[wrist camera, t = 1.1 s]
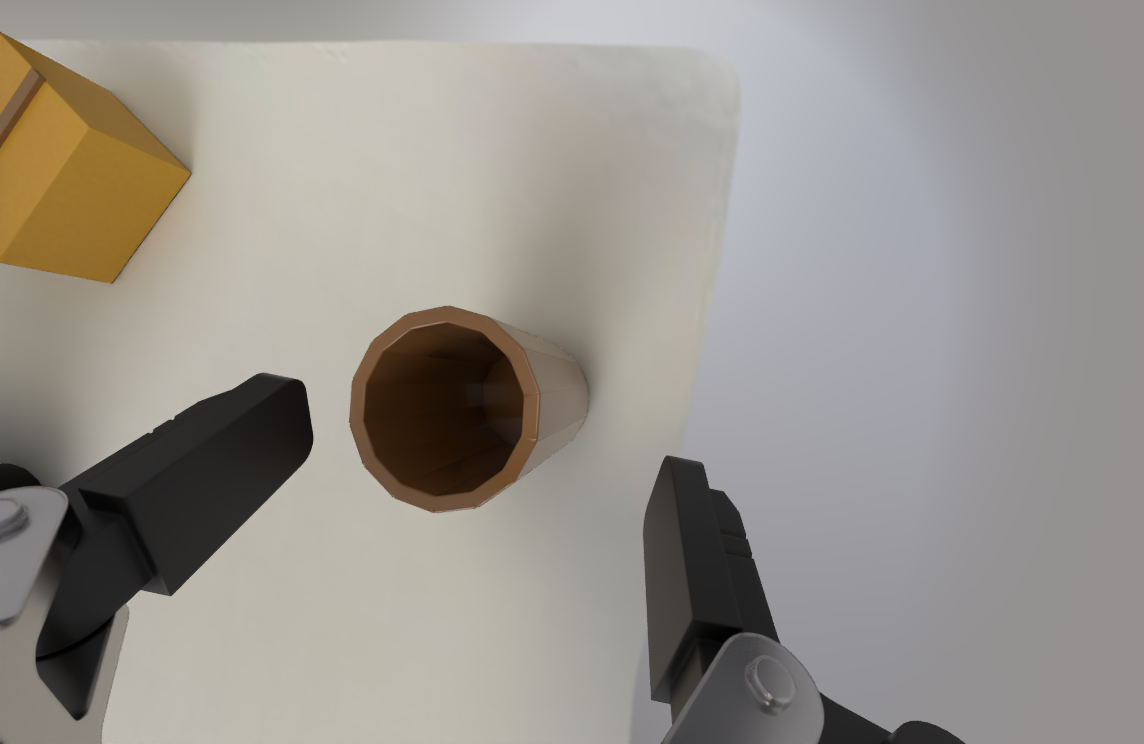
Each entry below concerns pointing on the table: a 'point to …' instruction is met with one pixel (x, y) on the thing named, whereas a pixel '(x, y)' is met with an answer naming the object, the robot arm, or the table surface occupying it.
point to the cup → (461, 407)
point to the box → (74, 170)
